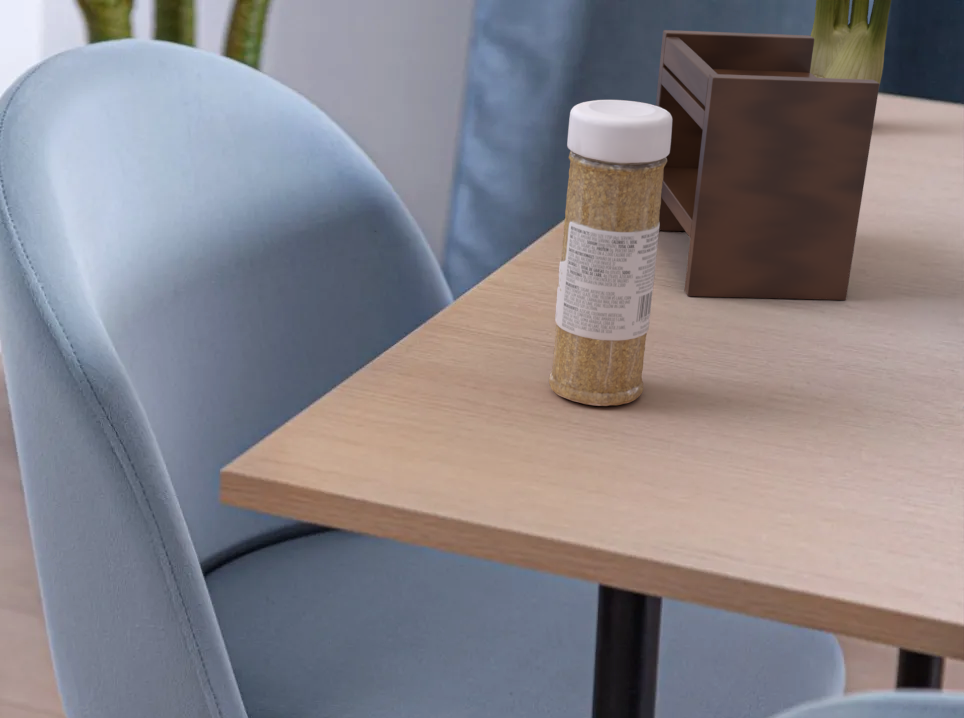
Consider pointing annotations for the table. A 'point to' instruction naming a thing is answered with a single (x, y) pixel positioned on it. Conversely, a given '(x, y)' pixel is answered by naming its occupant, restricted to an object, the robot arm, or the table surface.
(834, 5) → the fennel bulb
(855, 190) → the rack
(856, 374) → the table surface
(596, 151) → the spice jar
